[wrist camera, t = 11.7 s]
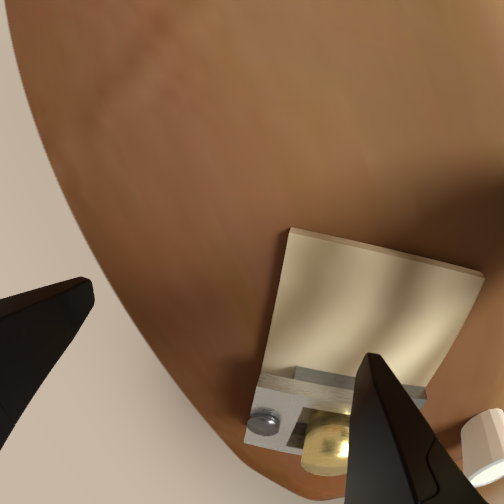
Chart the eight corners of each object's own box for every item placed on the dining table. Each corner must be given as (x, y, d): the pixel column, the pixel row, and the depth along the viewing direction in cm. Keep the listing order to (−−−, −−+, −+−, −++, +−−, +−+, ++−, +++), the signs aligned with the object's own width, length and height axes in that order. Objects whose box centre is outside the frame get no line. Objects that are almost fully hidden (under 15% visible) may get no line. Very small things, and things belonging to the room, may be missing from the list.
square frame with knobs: (425, 386, 22) (431, 419, 18) (384, 440, 26) (384, 469, 22) (264, 358, 24) (254, 391, 21) (250, 418, 28) (241, 447, 24)
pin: (366, 396, 23) (367, 455, 18) (349, 424, 25) (346, 478, 20) (317, 388, 24) (309, 448, 19) (304, 417, 26) (294, 471, 21)
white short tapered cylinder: (518, 404, 22) (534, 452, 15) (485, 440, 25) (495, 485, 18) (478, 404, 23) (492, 458, 16) (444, 441, 26) (451, 491, 19)
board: (480, 271, 18) (485, 278, 17) (374, 445, 28) (374, 452, 27) (291, 226, 20) (289, 232, 19) (249, 423, 30) (247, 431, 29)
